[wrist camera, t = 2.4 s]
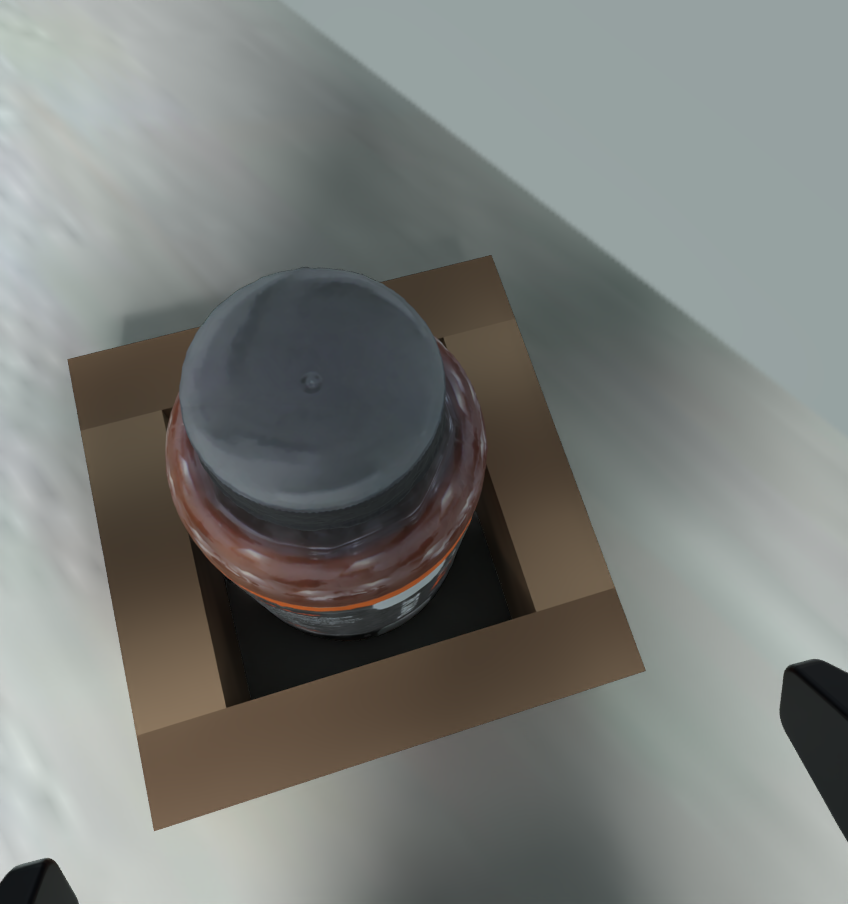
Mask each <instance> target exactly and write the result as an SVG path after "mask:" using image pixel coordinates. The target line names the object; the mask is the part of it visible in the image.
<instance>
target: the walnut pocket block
mask: <svg viewBox="0 0 848 904" xmlns="http://www.w3.org/2000/svg"><path fill="white" fill-rule="evenodd" d="M380 283H382V284H384V285H385V286H387V287H388V288H390V289H392V290H393V291H395V292H396V293H397V294H399V295H400V296H401V297H403V298H404V299H405V300H406V302H407V303H409V304H410V305H411V306H412V307H413V308H414V309H415V310H416V312H417V313H418V314H419V315H420V316H421V318H422V319H423V320H424V321H425V322H426V324H427V325H428V327H429V329H430V331H431V332H432V334H433V336H435V337H436V338H437V339H438V340H439V341H440V342H441V343H442V344H443V345H444V346H445V347H446V348H447V349H448V350H449V351H450V352H451V353H452V354H453V355H454V357H455V358H456V359H457V360H458V362H459V363H460V365H461V366H462V368H463V369H464V370H465V372H466V374H467V376H468V378H469V380H470V381H471V384H472V385H473V387H474V390H475V393H476V396H477V398H478V401H479V403H480V406H481V410H482V414H483V418H484V422H485V429H486V438H487V445H488V452H487V460H486V469H485V474H484V480H483V485H482V490H481V494H480V497H479V500H478V503H477V506H476V508H475V509H476V512H477V515H478V518H479V521H480V524H481V527H482V530H483V533H484V536H485V539H486V542H487V545H488V548H489V551H490V554H491V557H492V560H493V563H494V566H495V569H496V572H497V575H498V578H499V581H500V585H501V588H502V591H503V594H504V597H505V600H506V603H507V606H508V609H509V612H510V615H511V618H512V620H509V621H505V622H502V623H499V624H496V625H493V626H489V627H486V628H483V629H480V630H476V631H473V632H470V633H467V634H464V635H460V636H457V637H454V638H451V639H447V640H444V641H441V642H438V643H434V644H431V645H428V646H425V647H422V648H418V649H415V650H412V651H409V652H405V653H402V654H399V655H396V656H393V657H389V658H386V659H383V660H380V661H376V662H373V663H370V664H367V665H364V666H360V667H357V668H354V669H351V670H347V671H344V672H341V673H338V674H334V675H331V676H328V677H325V678H322V679H318V680H315V681H312V682H309V683H305V684H302V685H299V686H296V687H293V688H289V689H286V690H283V691H280V692H276V693H273V694H270V695H267V696H263V697H260V698H257V699H254V700H251V696H250V691H249V687H248V683H247V678H246V674H245V669H244V665H243V661H242V656H241V652H240V647H239V643H238V639H237V634H236V630H235V625H234V621H233V616H232V612H231V608H230V603H229V599H228V594H227V590H226V586H225V581H224V577H223V573H222V572H221V571H220V570H219V569H218V568H216V567H215V566H214V565H213V564H212V563H211V562H210V560H209V559H208V558H207V557H206V556H205V555H204V553H203V552H202V551H201V550H200V548H199V547H198V546H197V544H196V543H195V542H194V541H193V539H192V537H191V536H190V534H189V533H188V531H187V530H186V528H185V526H184V525H183V523H182V521H181V519H180V517H179V515H178V512H177V510H176V507H175V505H174V503H173V500H172V496H171V492H170V488H169V484H168V480H167V475H166V459H165V447H166V434H167V428H168V422H169V418H170V415H171V411H172V408H173V406H174V403H175V400H176V397H177V395H178V393H179V385H180V381H181V374H182V366H183V363H184V360H185V357H186V352H187V350H188V348H189V346H190V344H191V342H192V340H193V339H194V336H195V334H196V332H197V331H198V330H199V328H200V327H197V328H193V329H189V330H185V331H181V332H177V333H172V334H168V335H164V336H160V337H156V338H152V339H148V340H144V341H140V342H136V343H132V344H128V345H124V346H120V347H116V348H112V349H107V350H103V351H99V352H95V353H91V354H87V355H83V356H79V357H75V358H71V359H68V365H69V370H70V376H71V381H72V387H73V392H74V397H75V403H76V408H77V414H78V419H79V425H80V430H81V436H82V441H83V446H84V452H85V457H86V463H87V468H88V474H89V479H90V485H91V490H92V495H93V501H94V506H95V512H96V517H97V523H98V528H99V534H100V539H101V545H102V550H103V555H104V561H105V566H106V572H107V577H108V583H109V588H110V594H111V599H112V604H113V610H114V615H115V621H116V626H117V632H118V637H119V643H120V648H121V653H122V659H123V664H124V670H125V675H126V681H127V686H128V692H129V697H130V702H131V708H132V713H133V719H134V724H135V730H136V735H137V741H138V746H139V751H140V757H141V762H142V768H143V773H144V779H145V784H146V790H147V795H148V801H149V806H150V811H151V817H152V822H153V828H154V831H156V830H159V829H163V828H166V827H169V826H172V825H175V824H178V823H181V822H184V821H187V820H190V819H193V818H196V817H199V816H202V815H205V814H209V813H212V812H215V811H218V810H221V809H224V808H227V807H230V806H233V805H236V804H239V803H242V802H245V801H248V800H251V799H254V798H258V797H261V796H264V795H267V794H270V793H273V792H276V791H279V790H282V789H285V788H288V787H291V786H294V785H297V784H300V783H304V782H307V781H310V780H313V779H316V778H319V777H322V776H325V775H328V774H331V773H334V772H337V771H340V770H343V769H346V768H349V767H353V766H356V765H359V764H362V763H365V762H368V761H371V760H374V759H377V758H380V757H383V756H386V755H389V754H392V753H395V752H399V751H402V750H405V749H408V748H411V747H414V746H417V745H420V744H423V743H426V742H429V741H432V740H435V739H438V738H441V737H445V736H448V735H451V734H454V733H457V732H460V731H463V730H466V729H469V728H472V727H475V726H478V725H481V724H484V723H487V722H490V721H494V720H497V719H500V718H503V717H506V716H509V715H512V714H515V713H518V712H521V711H524V710H527V709H530V708H533V707H536V706H540V705H543V704H546V703H549V702H552V701H555V700H558V699H561V698H564V697H567V696H570V695H573V694H576V693H579V692H582V691H585V690H589V689H592V688H595V687H598V686H601V685H604V684H607V683H610V682H613V681H616V680H619V679H622V678H625V677H628V676H631V675H635V674H638V673H641V672H644V671H646V670H645V667H644V665H643V662H642V659H641V657H640V654H639V651H638V648H637V646H636V643H635V640H634V638H633V635H632V632H631V630H630V627H629V624H628V621H627V619H626V616H625V613H624V611H623V608H622V605H621V603H620V600H619V597H618V595H617V592H616V589H615V586H614V584H613V581H612V578H611V576H610V573H609V570H608V568H607V565H606V562H605V560H604V557H603V554H602V551H601V549H600V546H599V543H598V541H597V538H596V535H595V533H594V530H593V527H592V525H591V522H590V519H589V516H588V514H587V511H586V508H585V506H584V503H583V500H582V498H581V495H580V492H579V490H578V487H577V484H576V481H575V479H574V476H573V473H572V471H571V468H570V465H569V463H568V460H567V457H566V455H565V452H564V449H563V446H562V444H561V441H560V438H559V436H558V433H557V430H556V428H555V425H554V422H553V419H552V417H551V414H550V411H549V409H548V406H547V403H546V401H545V398H544V395H543V393H542V390H541V387H540V384H539V382H538V379H537V376H536V374H535V371H534V368H533V366H532V363H531V360H530V358H529V355H528V352H527V349H526V347H525V344H524V341H523V339H522V336H521V333H520V331H519V328H518V325H517V323H516V320H515V317H514V314H513V312H512V309H511V306H510V304H509V301H508V298H507V296H506V293H505V290H504V288H503V285H502V282H501V279H500V277H499V274H498V271H497V269H496V266H495V263H494V261H493V258H492V255H489V256H485V257H481V258H477V259H473V260H469V261H465V262H461V263H457V264H453V265H449V266H445V267H441V268H437V269H433V270H429V271H424V272H420V273H416V274H412V275H408V276H404V277H400V278H396V279H392V280H388V281H384V282H380Z"/></svg>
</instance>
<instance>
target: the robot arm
mask: <svg viewBox="0 0 848 904" xmlns="http://www.w3.org/2000/svg"><path fill="white" fill-rule="evenodd" d="M780 719H781V723H782V725H783V728H784V730H785V732H786V734H787V736H788V737H789V739H790V741H791V743H792V745H793V746H794V748H795V750H796V752H797V753H798V755H799V757H800V759H801V761H802V762H803V764H804V766H805V768H806V769H807V771H808V773H809V775H810V777H811V778H812V780H813V782H814V784H815V786H816V787H817V789H818V791H819V793H820V794H821V796H822V798H823V800H824V802H825V803H826V805H827V807H828V809H829V810H830V812H831V814H832V816H833V818H834V819H835V821H836V823H837V825H838V826H839V828H840V830H841V831H842V833H843V835H844V837H845V838H846V840H847V842H848V673H847V672H845V671H843V670H841V669H839V668H837V667H835V666H833V665H831V664H829V663H827V662H825V661H823V660H819V659H811V660H807V661H803V662H799V663H796V664H792V665H789V666H788V667H787V668H786V670H785V671H784V676H783V685H782V693H781V701H780ZM0 904H79V903H78V900H77V897H76V895H75V894H74V892H73V890H72V888H71V887H70V885H69V883H68V882H67V880H66V878H65V876H64V875H63V873H62V871H61V870H60V868H59V866H58V865H57V863H56V862H55V861H54V860H52V859H50V858H44V859H40V860H36V861H32V862H28V863H24V864H21V865H18V866H16V867H14V868H13V869H12V870H11V871H9V872H8V873H7V875H6V876H5V877H4V878H3V880H2V881H1V883H0Z"/></svg>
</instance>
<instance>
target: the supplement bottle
mask: <svg viewBox="0 0 848 904" xmlns="http://www.w3.org/2000/svg"><path fill="white" fill-rule="evenodd" d="M487 452H488V445H487V438H486V429H485V422H484V418H483V414H482V410H481V406H480V403H479V401H478V398H477V396H476V393H475V390H474V387H473V385H472V384H471V381H470V380H469V378H468V376H467V374H466V372H465V370H464V369H463V368H462V366H461V365H460V363H459V362H458V360H457V359H456V358H455V357H454V355H453V354H452V353H451V352H450V351H449V350H448V349H447V348H446V347H445V346H444V345H443V344H442V343H441V342H440V341H439V340H438V339H437V338H436V337H435V336H433V334H432V332H431V331H430V329H429V327H428V325H427V324H426V322H425V321H424V320H423V319H422V318H421V316H420V315H419V314H418V313H417V312H416V310H415V309H414V308H413V307H412V306H411V305H410V304H409V303H407V302H406V300H405V299H404V298H403V297H401V296H400V295H399V294H397V293H396V292H395V291H393V290H392V289H390V288H388V287H387V286H385V285H384V284H382V283H380V282H377V281H375V280H373V279H371V278H369V277H367V276H365V275H363V274H358V273H354V272H350V271H344V270H338V269H327V268H313V269H311V268H308V267H303V268H299V269H296V270H289V271H283V272H278V273H275V274H271V275H268V276H265V277H262V278H260V279H259V280H257V281H255V282H253V283H251V284H249V285H247V286H245V287H243V288H241V289H239V290H238V291H236V292H235V293H234V294H232V295H231V296H230V297H229V298H228V299H226V300H225V301H224V302H222V303H221V304H220V305H218V306H217V307H216V308H215V309H214V310H213V311H212V313H211V314H210V315H209V317H208V318H207V319H206V321H205V322H204V323H203V325H202V326H201V327H200V328H199V330H198V331H197V332H196V334H195V336H194V339H193V340H192V342H191V344H190V346H189V348H188V350H187V352H186V357H185V360H184V363H183V366H182V374H181V381H180V385H179V393H178V395H177V397H176V400H175V403H174V406H173V408H172V411H171V415H170V418H169V422H168V428H167V434H166V447H165V459H166V475H167V480H168V484H169V488H170V492H171V496H172V500H173V503H174V505H175V507H176V510H177V512H178V515H179V517H180V519H181V521H182V523H183V525H184V526H185V528H186V530H187V531H188V533H189V534H190V536H191V537H192V539H193V541H194V542H195V543H196V544H197V546H198V547H199V548H200V550H201V551H202V552H203V553H204V555H205V556H206V557H207V558H208V559H209V560H210V562H211V563H212V564H213V565H214V566H215V567H216V568H218V569H219V570H220V571H221V572H222V573H223V574H224V575H225V576H226V577H227V578H229V579H230V580H231V581H232V582H234V583H235V584H236V585H237V586H238V587H240V588H241V589H242V590H244V591H245V592H246V593H247V594H249V595H250V596H251V597H253V598H254V599H255V600H256V601H257V602H259V603H260V604H261V605H262V606H264V607H265V608H267V609H268V610H269V611H270V612H271V613H273V614H274V615H275V616H277V617H278V618H279V619H281V620H282V621H283V622H285V623H286V624H288V625H290V626H292V627H294V628H296V629H298V630H300V631H302V632H304V633H306V634H310V635H313V636H316V637H321V638H325V639H331V640H340V641H354V640H363V639H368V638H371V637H375V636H378V635H382V634H384V633H386V632H390V631H392V630H394V629H395V628H397V627H399V626H401V625H403V624H404V623H406V622H407V621H408V620H410V619H411V618H413V617H414V616H415V615H416V614H417V613H418V612H420V611H421V610H422V609H423V608H424V607H425V606H426V605H427V604H428V602H429V601H430V600H431V599H432V598H433V597H434V596H435V595H436V593H437V591H438V590H439V588H440V586H441V584H442V583H443V581H444V580H445V578H446V576H447V575H448V572H449V569H450V567H451V565H452V563H453V561H454V557H455V555H456V553H457V551H458V548H459V546H460V544H461V542H462V539H463V537H464V535H465V532H466V530H467V528H468V526H469V525H470V522H471V519H472V515H473V513H474V510H475V508H476V506H477V503H478V500H479V497H480V494H481V490H482V485H483V480H484V474H485V469H486V460H487Z"/></svg>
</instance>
